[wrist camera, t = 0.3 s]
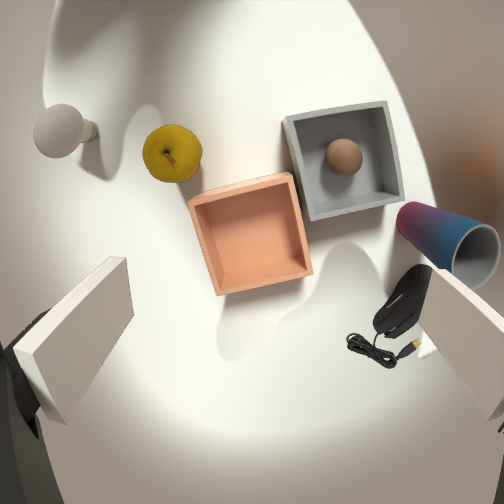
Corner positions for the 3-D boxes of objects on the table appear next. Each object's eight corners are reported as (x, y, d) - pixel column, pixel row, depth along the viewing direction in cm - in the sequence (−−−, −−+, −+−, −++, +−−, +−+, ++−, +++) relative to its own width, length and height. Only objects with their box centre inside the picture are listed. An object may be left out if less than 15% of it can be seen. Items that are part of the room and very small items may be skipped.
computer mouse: (457, 296, 41) (469, 307, 37) (386, 370, 46) (394, 385, 42) (417, 254, 39) (431, 264, 35) (339, 341, 44) (345, 357, 40)
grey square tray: (281, 121, 33) (285, 116, 28) (369, 105, 32) (386, 100, 27) (303, 210, 37) (310, 221, 32) (386, 192, 36) (405, 200, 31)
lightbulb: (86, 102, 32) (36, 95, 22) (119, 118, 33) (73, 113, 23) (68, 143, 34) (16, 148, 24) (100, 161, 35) (51, 170, 25)
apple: (209, 176, 36) (197, 184, 28) (159, 181, 36) (135, 191, 28) (206, 124, 34) (191, 118, 26) (155, 130, 34) (129, 128, 26)
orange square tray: (196, 194, 36) (186, 202, 31) (287, 170, 35) (292, 175, 30) (222, 276, 40) (216, 296, 35) (306, 257, 39) (313, 274, 34)
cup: (406, 253, 38) (465, 305, 24) (381, 217, 37) (441, 258, 23) (439, 222, 37) (507, 260, 23) (416, 184, 35) (488, 209, 21)
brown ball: (317, 142, 34) (324, 142, 29) (351, 136, 33) (363, 135, 29) (325, 178, 35) (333, 182, 31) (359, 171, 35) (371, 175, 30)
